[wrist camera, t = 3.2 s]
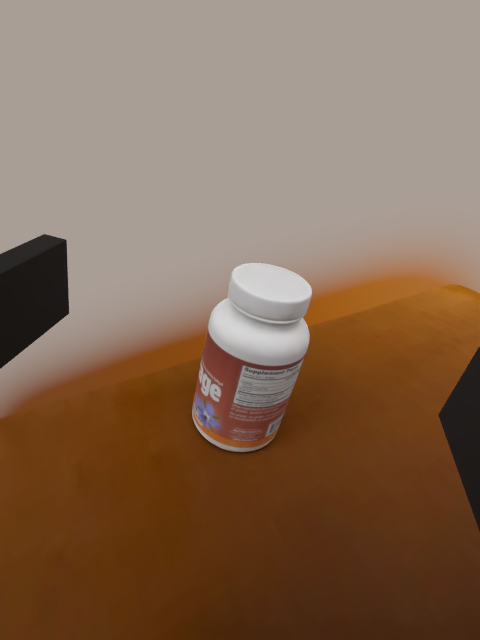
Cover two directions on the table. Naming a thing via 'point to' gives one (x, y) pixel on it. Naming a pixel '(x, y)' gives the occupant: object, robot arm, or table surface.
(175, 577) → the table surface
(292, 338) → the pill bottle
